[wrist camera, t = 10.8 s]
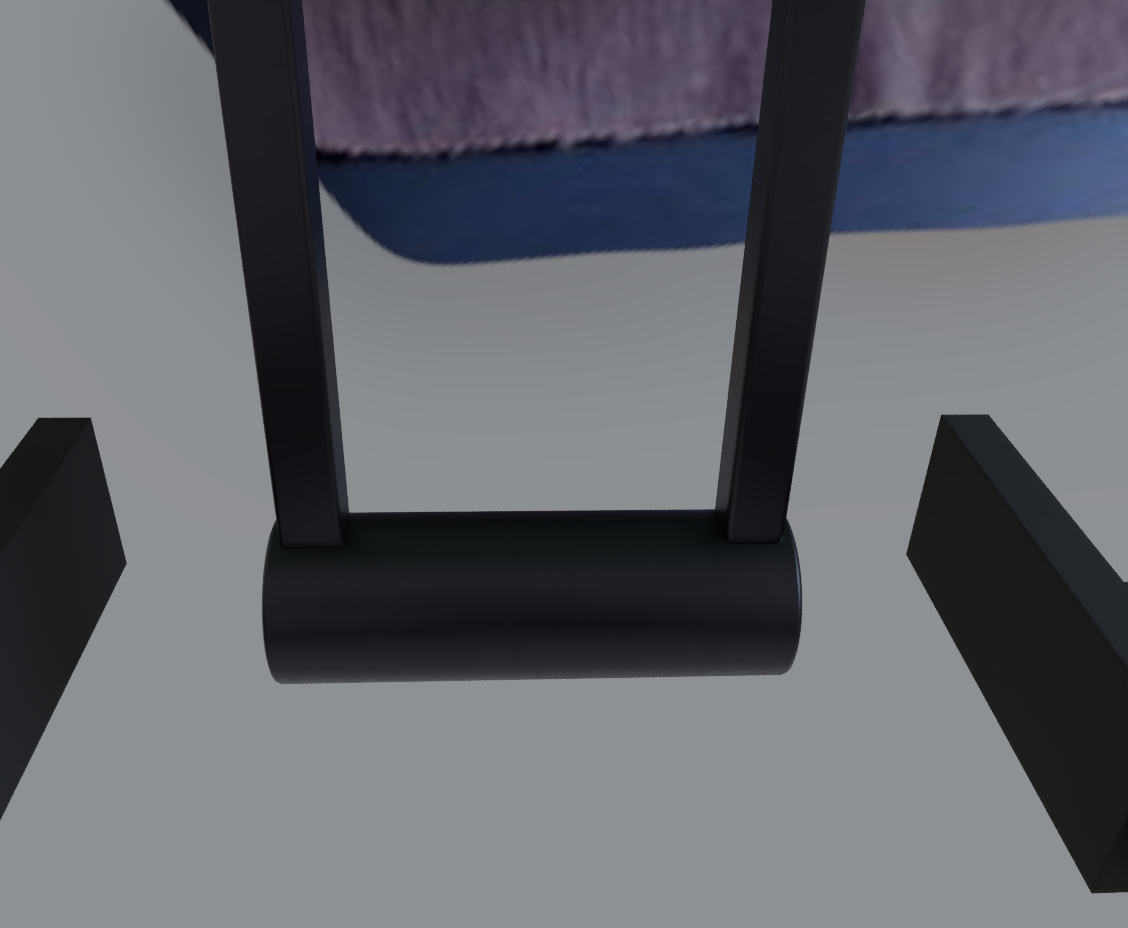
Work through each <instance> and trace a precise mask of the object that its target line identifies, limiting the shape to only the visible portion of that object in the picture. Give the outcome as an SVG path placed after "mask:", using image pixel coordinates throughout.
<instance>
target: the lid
mask: <svg viewBox="0 0 1128 928" xmlns="http://www.w3.org/2000/svg"><path fill="white" fill-rule="evenodd" d="M865 2H866V0H773V2H772V11H771V20H770V29H769V38H768V46H767V55H766V64H765V73H764V82H763V91H762V100H761V108H760V117H759V126H758V135H757V144H756V153H755V161H754V170H753V179H752V188H751V197H750V206H749V215H748V223H747V232H746V241H745V250H744V259H743V268H742V277H741V285H740V294H739V303H738V313H737V321H736V330H735V338H734V347H733V356H732V365H731V374H730V383H729V391H728V400H727V401H728V402H727V409H726V418H725V427H724V436H723V444H722V453H721V463H720V472H719V480H718V489H717V498H716V507H715V510H714V509H710V510H709V509H708V510H610V511H609V510H604V511H603V510H600V511H487V512H486V511H484V512H483V511H481V512H380V513H379V512H373V513H372V512H371V513H370V512H369V513H349V507H348V496H347V486H346V474H345V463H344V453H343V443H342V431H341V420H340V411H339V410H340V409H339V398H338V388H337V377H336V367H335V355H334V344H333V333H332V323H331V312H330V301H329V290H328V279H327V269H326V257H325V246H324V237H323V225H322V214H321V203H320V192H319V181H318V171H317V160H316V149H315V138H314V127H313V116H312V105H311V95H310V84H309V73H308V62H307V51H306V40H305V29H304V19H303V8H302V0H207V3H208V11H209V18H210V26H211V33H212V41H213V48H214V56H215V63H216V71H217V78H218V86H219V93H220V101H221V108H222V116H223V123H224V131H225V138H226V146H227V153H228V161H229V168H230V176H231V183H232V191H233V198H234V206H235V213H236V221H237V228H238V235H239V243H240V250H241V257H242V266H243V273H244V280H245V288H246V296H247V303H248V311H249V318H250V325H251V333H252V341H253V348H254V355H255V363H256V370H257V378H258V385H259V393H260V400H261V407H262V415H263V423H264V430H265V438H266V445H267V453H268V460H269V468H270V475H271V483H272V490H273V498H274V505H275V513H276V521H275V523H274V525H273V528H272V531H271V534H270V537H269V541H268V546H267V551H266V557H265V565H264V574H263V587H262V625H263V638H264V646H265V653H266V658H267V662H268V666H269V669H270V672H271V675H272V677H273V678H274V680H275V681H276V682H278V683H281V684H304V683H306V684H307V683H360V682H415V681H470V680H523V679H577V678H632V677H683V676H684V677H685V676H737V675H738V676H740V675H781V674H784V673H786V672H787V671H788V670H789V669H790V668H791V666H792V664H793V662H794V659H795V656H796V652H797V648H798V644H799V639H800V632H801V622H802V620H801V619H802V585H801V573H800V564H799V558H798V552H797V548H796V543H795V539H794V536H793V533H792V530H791V527H790V525H789V522H788V520H787V518H786V516H787V509H788V503H789V496H790V490H791V483H792V476H793V470H794V463H795V457H796V451H797V444H798V438H799V431H800V424H801V418H802V412H803V405H804V399H805V392H806V385H807V379H808V373H809V366H810V360H811V353H812V347H813V340H814V334H815V327H816V321H817V314H818V308H819V300H820V295H821V287H822V282H823V275H824V268H825V262H826V255H827V249H828V242H829V236H830V230H831V223H832V217H833V210H834V204H835V197H836V191H837V184H838V178H839V171H840V164H841V158H842V151H843V145H844V138H845V132H846V125H847V119H848V112H849V106H850V99H851V93H852V86H853V80H854V73H855V67H856V60H857V54H858V47H859V41H860V34H861V28H862V21H863V15H864V8H865Z"/></svg>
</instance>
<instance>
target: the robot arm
mask: <svg viewBox="0 0 1128 928" xmlns="http://www.w3.org/2000/svg"><path fill="white" fill-rule="evenodd" d="M906 555H907V557H908V558H909V560H910V562H911V564H912V566H913V568H914V569H915V571H916V573H917V575H918V577H919V578H920V580H921V582H922V584H923V586H924V588H925V590H926V591H927V593H928V595H929V597H930V599H931V600H932V602H933V604H934V606H935V608H936V610H937V611H938V613H939V615H940V617H941V619H942V621H943V622H944V624H945V626H946V628H947V630H948V631H949V633H950V635H951V637H952V639H953V641H954V642H955V644H956V646H957V648H958V650H959V652H960V654H961V655H962V657H963V659H964V661H965V663H966V664H967V666H968V668H969V670H970V672H971V674H972V675H973V677H974V679H975V681H976V683H977V685H978V686H979V688H980V690H981V692H982V694H983V696H984V697H985V699H986V701H987V703H988V705H989V706H990V708H991V710H992V712H993V714H994V716H995V717H996V719H997V721H998V723H999V725H1000V727H1001V728H1002V730H1003V732H1004V734H1005V736H1006V738H1007V739H1008V741H1009V743H1010V745H1011V747H1012V749H1013V750H1014V752H1015V754H1016V756H1017V757H1018V760H1019V761H1020V763H1021V765H1022V767H1023V769H1024V770H1025V772H1026V774H1027V776H1028V778H1029V780H1030V781H1031V783H1032V785H1033V787H1034V788H1035V791H1036V792H1037V794H1038V796H1039V798H1040V800H1041V801H1042V803H1043V805H1044V807H1045V809H1046V811H1047V813H1048V814H1049V816H1050V818H1051V820H1052V822H1053V823H1054V825H1055V827H1056V829H1057V831H1058V833H1059V834H1060V836H1061V838H1062V840H1063V842H1064V844H1065V845H1066V847H1067V849H1068V851H1069V853H1070V855H1071V856H1072V858H1073V860H1074V861H1075V864H1076V866H1077V867H1078V869H1079V871H1080V873H1081V875H1082V876H1083V878H1084V880H1085V882H1086V884H1087V886H1088V887H1089V889H1090V891H1091V893H1115V892H1128V582H1123V581H1122V579H1121V578H1120V577H1119V576H1118V574H1117V573H1116V572H1115V571H1114V569H1113V568H1112V567H1111V566H1110V564H1109V563H1108V562H1107V561H1106V560H1105V558H1104V557H1103V556H1102V555H1101V553H1100V552H1099V551H1098V550H1097V548H1096V547H1095V546H1094V545H1093V543H1092V542H1091V541H1090V540H1089V538H1088V537H1087V536H1086V535H1085V534H1084V532H1083V531H1082V530H1081V529H1080V528H1079V526H1078V525H1077V524H1076V522H1075V521H1074V520H1073V519H1072V517H1071V516H1070V515H1069V514H1068V513H1067V511H1066V510H1065V509H1064V508H1063V507H1062V505H1061V504H1060V503H1059V501H1058V500H1057V499H1056V498H1055V496H1054V495H1053V494H1052V493H1051V491H1050V490H1049V489H1048V488H1047V487H1046V485H1045V484H1044V483H1043V482H1042V480H1041V479H1040V478H1039V477H1038V475H1037V474H1036V473H1035V472H1034V470H1033V469H1032V468H1031V467H1030V465H1029V464H1028V463H1027V462H1026V461H1025V459H1024V458H1023V457H1022V456H1021V454H1020V453H1019V452H1018V451H1017V449H1016V448H1015V447H1014V446H1013V444H1012V443H1011V442H1010V441H1009V440H1008V438H1007V437H1006V436H1005V435H1004V433H1003V432H1002V431H1001V430H1000V428H999V427H998V426H997V425H996V423H995V422H994V421H993V420H992V418H991V417H990V416H989V415H941V418H940V422H939V426H938V430H937V434H936V438H935V442H934V446H933V450H932V454H931V458H930V462H929V466H928V470H927V474H926V478H925V482H924V486H923V490H922V494H921V498H920V502H919V506H918V509H917V514H916V517H915V522H914V525H913V529H912V534H911V538H910V542H909V546H908V550H907V553H906ZM125 566H126V560H125V555H124V551H123V547H122V543H121V539H120V535H119V531H118V526H117V523H116V519H115V515H114V510H113V506H112V502H111V498H110V494H109V490H108V486H107V482H106V478H105V474H104V470H103V466H102V462H101V458H100V453H99V449H98V445H97V441H96V437H95V433H94V429H93V425H92V421H91V418H38V419H37V420H36V422H35V423H34V425H33V426H32V427H31V429H30V430H29V431H28V432H27V434H26V435H25V436H24V438H23V439H22V440H21V442H20V443H19V444H18V446H17V447H16V448H15V450H14V451H13V452H12V454H11V455H10V457H9V458H8V459H7V460H6V462H5V463H4V464H3V466H2V467H1V468H0V820H1V818H2V816H3V814H4V812H5V810H6V807H7V806H8V804H9V802H10V799H11V797H12V795H13V793H14V791H15V789H16V787H17V785H18V783H19V781H20V779H21V777H22V775H23V773H24V771H25V769H26V767H27V765H28V763H29V761H30V758H31V757H32V755H33V753H34V751H35V749H36V747H37V745H38V743H39V740H40V738H41V736H42V734H43V732H44V730H45V728H46V726H47V724H48V722H49V720H50V718H51V716H52V714H53V712H54V710H55V708H56V706H57V704H58V702H59V700H60V698H61V696H62V694H63V692H64V690H65V688H66V686H67V683H68V681H69V679H70V677H71V675H72V673H73V671H74V669H75V667H76V665H77V663H78V661H79V659H80V657H81V655H82V653H83V651H84V649H85V647H86V645H87V643H88V641H89V639H90V637H91V634H92V633H93V630H94V629H95V627H96V624H97V623H98V621H99V618H100V616H101V614H102V612H103V610H104V608H105V606H106V604H107V602H108V600H109V598H110V596H111V594H112V592H113V590H114V588H115V586H116V584H117V582H118V580H119V578H120V576H121V574H122V572H123V570H124V568H125Z"/></svg>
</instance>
